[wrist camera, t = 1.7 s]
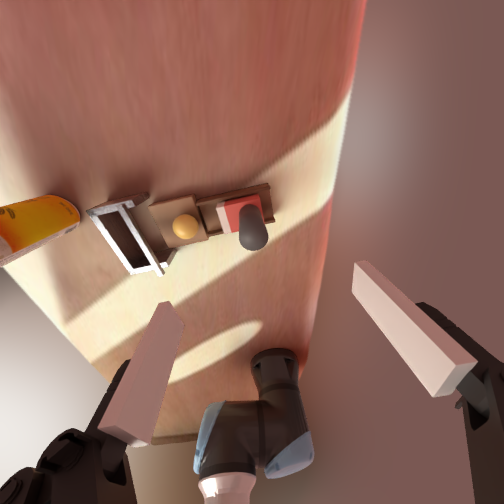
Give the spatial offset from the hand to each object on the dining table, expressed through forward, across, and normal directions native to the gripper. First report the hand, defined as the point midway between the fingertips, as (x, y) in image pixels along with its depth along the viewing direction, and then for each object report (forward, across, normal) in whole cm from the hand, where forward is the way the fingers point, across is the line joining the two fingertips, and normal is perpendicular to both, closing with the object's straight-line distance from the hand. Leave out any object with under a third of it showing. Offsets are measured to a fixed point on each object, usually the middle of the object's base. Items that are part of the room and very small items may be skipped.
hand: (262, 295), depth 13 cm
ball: (+19, +11, 0) cm, 21 cm away
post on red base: (+20, +1, 0) cm, 20 cm away
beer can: (+23, +31, -6) cm, 39 cm away
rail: (+23, +2, 0) cm, 23 cm away
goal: (+23, +20, 0) cm, 30 cm away
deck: (+23, +12, 0) cm, 26 cm away
